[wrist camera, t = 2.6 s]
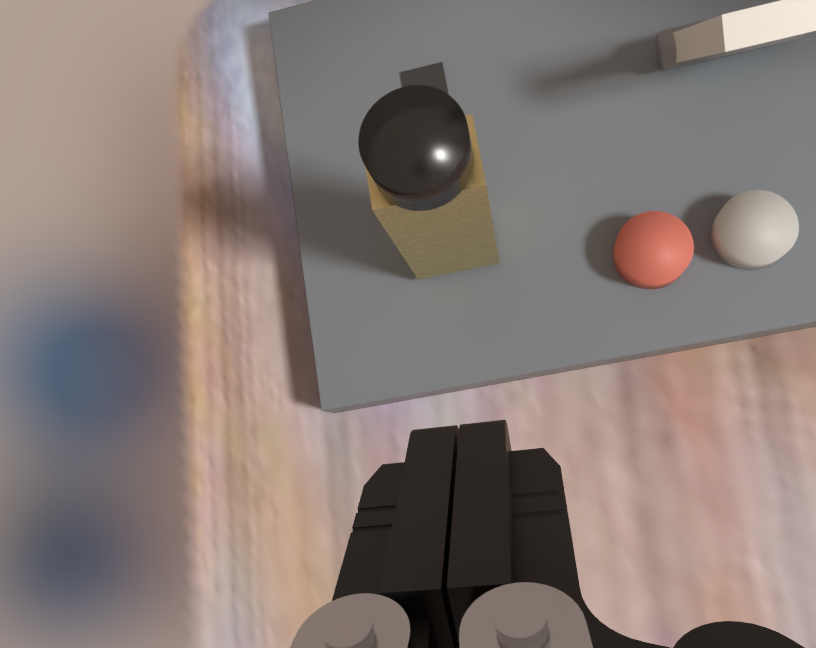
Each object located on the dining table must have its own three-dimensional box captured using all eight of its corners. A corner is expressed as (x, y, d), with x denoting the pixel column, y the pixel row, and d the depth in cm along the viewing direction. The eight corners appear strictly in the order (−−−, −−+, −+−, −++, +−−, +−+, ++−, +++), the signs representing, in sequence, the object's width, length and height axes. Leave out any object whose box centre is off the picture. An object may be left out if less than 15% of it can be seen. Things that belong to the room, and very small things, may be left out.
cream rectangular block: (789, 0, 29) (886, -32, 23) (791, 40, 30) (888, 19, 23) (654, 33, 30) (709, 11, 23) (658, 71, 31) (713, 60, 24)
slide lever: (488, 202, 31) (464, 71, 20) (501, 272, 30) (484, 174, 19) (408, 220, 31) (344, 101, 21) (419, 288, 30) (360, 202, 20)
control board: (757, -89, 33) (781, -144, 30) (883, 314, 29) (925, 297, 26) (282, 35, 37) (259, -3, 34) (334, 413, 32) (313, 408, 29)
